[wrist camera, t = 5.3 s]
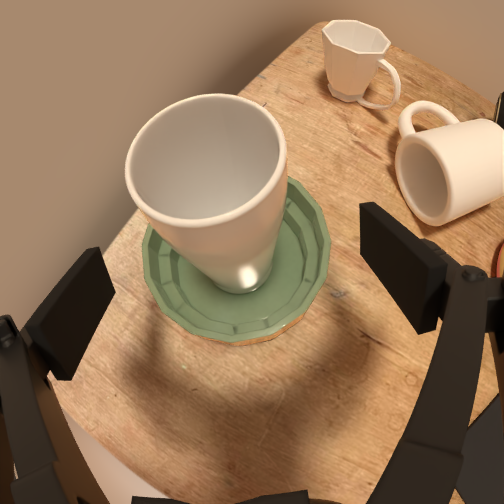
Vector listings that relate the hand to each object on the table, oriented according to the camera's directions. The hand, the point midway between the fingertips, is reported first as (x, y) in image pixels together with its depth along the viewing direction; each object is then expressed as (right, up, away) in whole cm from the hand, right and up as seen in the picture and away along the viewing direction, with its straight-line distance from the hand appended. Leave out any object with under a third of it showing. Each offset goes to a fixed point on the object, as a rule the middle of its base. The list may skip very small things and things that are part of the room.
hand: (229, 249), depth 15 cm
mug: (+19, +8, +13) cm, 25 cm away
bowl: (0, -1, +11) cm, 11 cm away
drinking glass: (0, -1, +11) cm, 11 cm away
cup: (+13, +17, +17) cm, 27 cm away
